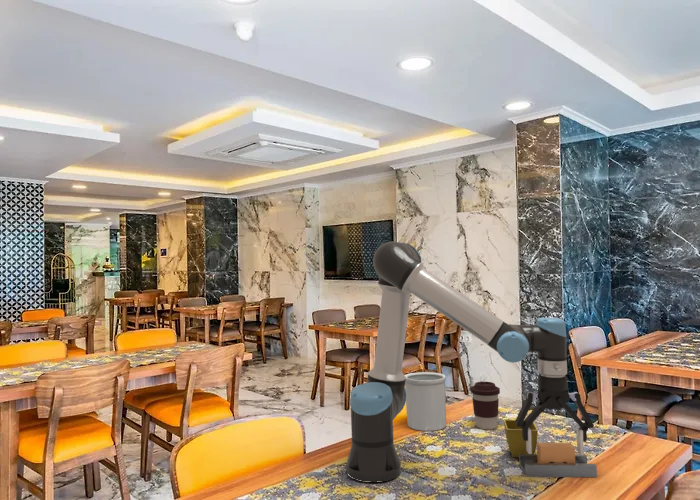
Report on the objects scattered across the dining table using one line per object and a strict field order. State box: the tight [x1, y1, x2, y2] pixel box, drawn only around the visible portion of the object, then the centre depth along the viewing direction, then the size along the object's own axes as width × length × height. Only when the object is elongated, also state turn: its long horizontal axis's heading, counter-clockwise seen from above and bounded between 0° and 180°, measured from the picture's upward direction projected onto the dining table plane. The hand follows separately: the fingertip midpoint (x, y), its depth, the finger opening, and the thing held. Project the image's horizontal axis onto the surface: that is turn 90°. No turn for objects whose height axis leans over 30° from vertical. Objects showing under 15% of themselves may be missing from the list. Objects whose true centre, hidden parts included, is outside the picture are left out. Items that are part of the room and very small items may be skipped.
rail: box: [518, 453, 598, 478], centre depth 135 cm, size 18×8×3 cm, turn 85°
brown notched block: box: [536, 442, 576, 463], centre depth 135 cm, size 9×3×7 cm, turn 85°
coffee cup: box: [470, 381, 501, 430], centre depth 173 cm, size 10×10×15 cm
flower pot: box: [503, 419, 539, 458], centre depth 147 cm, size 9×9×9 cm
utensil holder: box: [404, 371, 447, 432], centre depth 177 cm, size 15×15×18 cm
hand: (554, 452), depth 135 cm, fingers open, 13 cm apart
